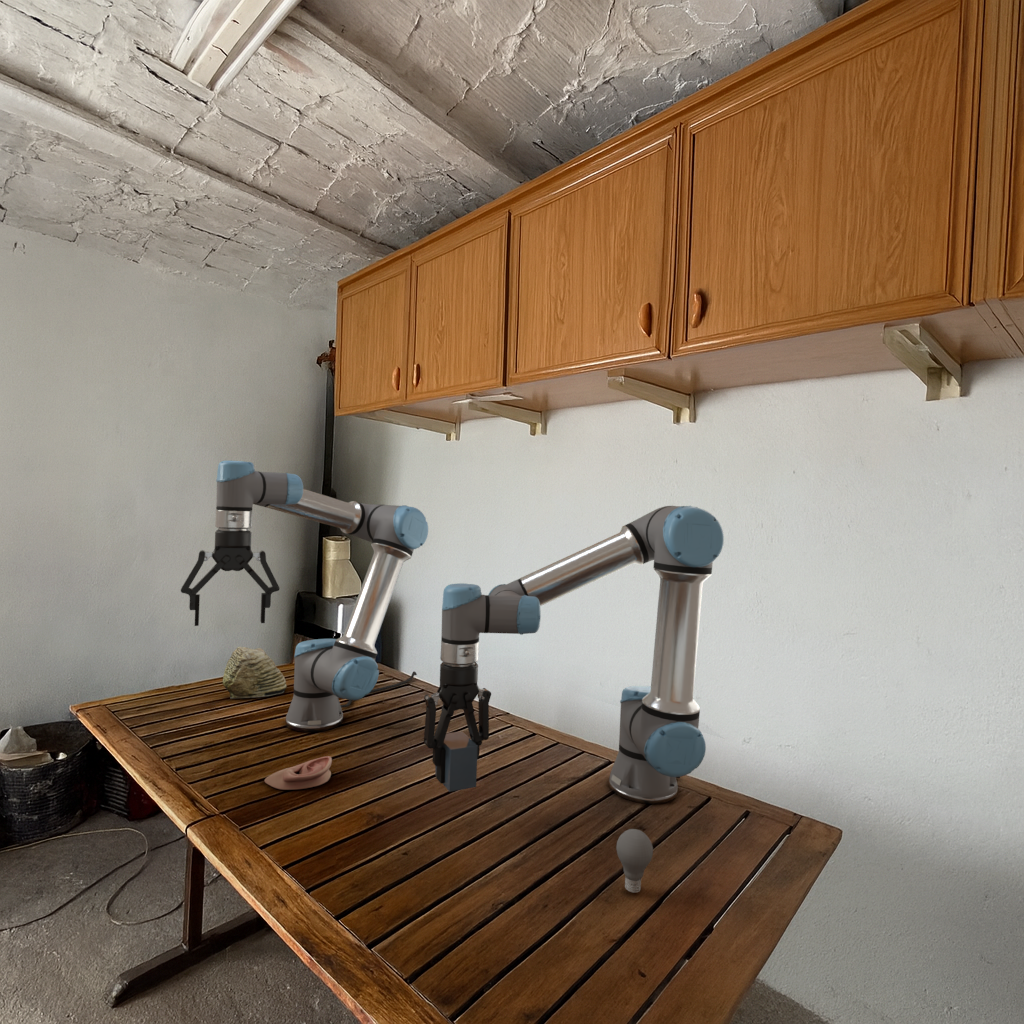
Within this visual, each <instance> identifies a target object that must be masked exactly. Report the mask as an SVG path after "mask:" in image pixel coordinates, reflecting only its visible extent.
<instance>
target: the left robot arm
mask: <svg viewBox="0 0 1024 1024" xmlns="http://www.w3.org/2000/svg"><path fill="white" fill-rule="evenodd" d="M216 472H217V473H216V474H217V475H216V480H215V482H216V501H215V502H216V506H215V528H216V529H217V530H216V531H215V533H214V549H213V551H205V550H204V549H201V550H199V552H198V556H197V557H198V558H197V561H196V563H195V564H194V566H193V567H192V569H191V570H190V573H189V574H188V575H187V577H186V579H185V581H184V583H183V585H182V586H181V588H180V592H181V594H185V595H188V597H189V604H188V605H189V606H188V608H189V611H194V627H198V626H199V624H200V599H201V598H200V597H201V594H199V592H200V590H202V589H203V588H204V587H205V585H207V583H209V581H210V580H211V579H212V578H213V577H214V576H215V575H216V574H217V573H218V572H220V570H222V571H224V572H231V571H235V572H240V571H243V570H244V571H246V573H247V574H249V576H250V577H251V578H252V579H253V581H254V582H255V583H256V584H257V585H258V587H260V588H261V589H262V591H263V592H261V595H260V602H261V603H260V623H261V624H265V623H266V609H270V608H271V606H272V605H271V603H272V594H273V593H276V592H279V591H280V588H281V587H280V585H279V583H278V582H277V580H276V577H275V576H274V573H273V571H272V570H271V568H270V566H269V564H268V561H267V554H266V552H265V551H264V550H260V551H252V535H253V534H252V533H253V532H252V531H251V530H250V529H251V528H252V527H253V506H254V505H255V506H259V507H262V508H267V509H269V510H270V509H271V510H274V511H278V512H281V513H285V514H287V515H293V516H295V517H299V518H303V519H305V520H310V521H313V522H317V523H320V524H324V525H328V526H332V527H335V528H338V529H340V531H341V532H342V533H344V534H346V535H350V536H353V537H356V538H359V539H361V540H364V541H366V542H368V543H371V544H370V545H371V548H372V549H373V554H372V557H371V561H370V563H369V565H368V568H367V571H366V574H365V576H364V579H363V581H362V584H361V587H360V590H359V593H358V596H357V598H356V601H355V603H354V606H353V608H352V611H351V615H350V617H349V620H348V622H347V625H346V628H345V630H344V633H343V635H342V636H340V637H338V638H318V639H308V640H304V641H300V642H299V643H297V644H296V646H295V650H294V655H293V657H294V672H293V673H294V674H293V695H292V696H293V697H292V699H291V702H290V704H289V708H288V711H287V713H286V715H285V726H286V728H287V729H289V730H291V731H294V732H295V731H296V732H301V733H316V732H325V731H329V730H332V729H335V728H337V727H339V726H340V725H342V723H343V722H344V713H343V709H345V708H347V707H350V706H351V704H352V702H353V701H357V700H360V699H363V698H364V697H365V696H367V695H368V694H369V695H370V694H372V693H377V692H380V691H384V690H389V689H392V688H396V687H400V686H402V685H405V684H407V683H409V682H410V681H411V680H413V678H414V677H415V676H417V675H418V674H417V672H416V671H413V672H412V673H411V675H410V677H408V678H407V679H405V680H403V681H401V682H398V683H394V684H390V685H386V686H382V687H378V688H375V687H376V684H377V682H378V680H379V676H380V670H379V665H378V663H377V662H376V658H377V655H378V651H377V648H376V647H375V644H376V641H377V639H378V635H379V633H380V631H381V628H382V624H383V622H384V619H385V616H386V614H387V611H388V608H389V604H390V603H391V599H392V596H393V594H394V591H395V588H396V585H397V583H398V580H399V577H400V574H401V572H402V568H403V565H404V563H405V562H406V561H409V560H410V559H412V557H413V554H414V550H416V549H420V548H421V547H423V545H424V544H425V543H426V542H427V539H428V536H429V524H428V521H427V518H426V516H425V514H424V513H423V511H421V510H420V509H418V508H417V507H414V506H408V505H403V504H402V505H397V504H396V505H395V504H375V503H374V504H373V503H372V504H371V503H370V504H369V503H362V502H358V501H356V500H351V501H349V502H347V501H343V500H341V499H337V498H334V497H331V496H328V495H325V494H322V493H318V492H315V491H312V490H309V489H306V488H304V484H303V480H302V479H301V477H300V476H299V475H298V474H295V473H288V472H274V471H273V472H272V471H259V470H256V468H255V465H254V463H253V462H251V461H245V460H244V461H243V460H222V461H220V462H219V463H218V464H217V471H216ZM210 558H212V559H213V561H214V562H215V564H214V565H213V567H212V568H211V569H210V570H209V571H207V573H206V574H204V576H203V577H202V578H200V579H199V581H198V582H197V583H196V584H195V585H194V586H193V587H191V585H192V584H193V582H194V580H195V578H196V576H197V575H198V573H199V571H201V568H202V567H203V565H204V563H205V562H207V561H208V560H209V559H210ZM253 558H255V559H256V561H257V562H260V565H261V567H262V568H263V571H264V573H265V574H266V576H267V578H268V580H269V583H270V584H271V586H268V585H267V583H266V582H265V581H264V580H263V579H262V578H261V577H260V576H259V574H258V573H257V571H255V570H254V569H253V568H252V566H251V565H250V564H249V563H250V562H251V561H252V559H253ZM340 699H342V700H347V703H346V704H345V703H344V704H341V702H340Z"/></svg>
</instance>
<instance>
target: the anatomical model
mask: <svg viewBox="0 0 1024 1024" xmlns="http://www.w3.org/2000/svg"><path fill="white" fill-rule="evenodd" d="M332 763H333V757H331V756H329V755H326V756H325V755H324V756H321V757H318V758H314V759H311V760H308V761H304V762H301V763H300V764H299V763H298V764H297V765H294V766H291V767H287V768H283V769H280V770H278V771H275V772H273V773H272V774H270V775H268V776H267V777H265V779H264V783H265V784H267V785H268V786H270V787H272V788H274V789H277V790H281V791H291V790H293V791H294V790H303V789H309V788H313V787H319V786H321V785H323V784H326V783H327V782H328V781H329V780H330V779H331V776H332V772H331V770H330V768H331V766H332Z"/></svg>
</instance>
